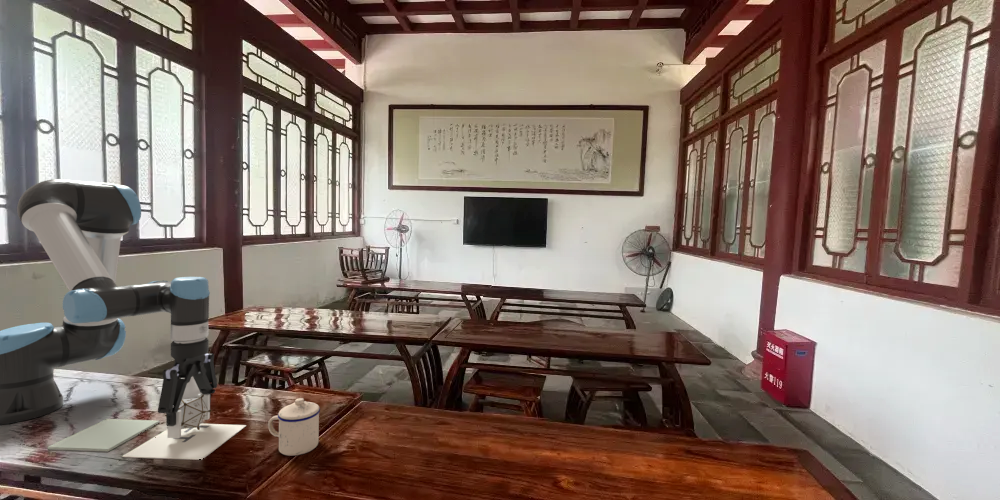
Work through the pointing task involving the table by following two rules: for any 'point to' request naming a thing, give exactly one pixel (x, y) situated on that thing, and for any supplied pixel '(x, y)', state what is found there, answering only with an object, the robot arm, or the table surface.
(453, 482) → the table surface
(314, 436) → the teacup with lid
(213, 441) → the card
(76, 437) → the sage mat
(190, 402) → the game die
